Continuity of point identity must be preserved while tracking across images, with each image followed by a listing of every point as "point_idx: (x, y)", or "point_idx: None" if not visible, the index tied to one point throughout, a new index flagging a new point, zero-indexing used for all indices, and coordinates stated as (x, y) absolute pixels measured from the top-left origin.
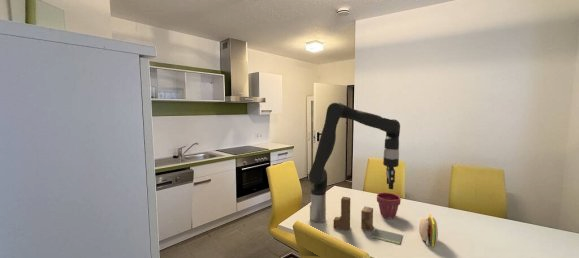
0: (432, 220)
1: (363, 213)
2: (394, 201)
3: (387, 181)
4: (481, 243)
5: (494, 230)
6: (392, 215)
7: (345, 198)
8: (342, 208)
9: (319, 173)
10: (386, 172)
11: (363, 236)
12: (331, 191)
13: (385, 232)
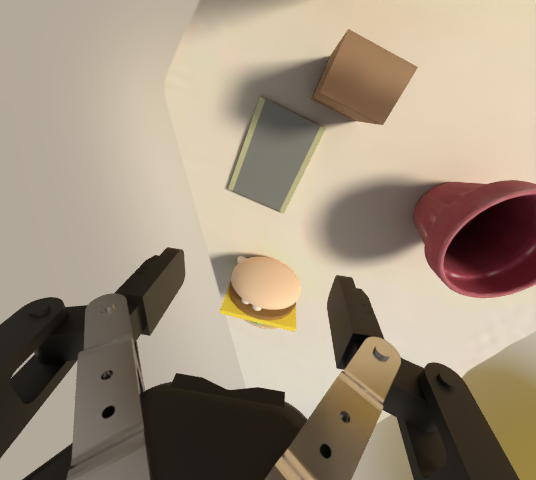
0: (243, 317)
1: (338, 49)
2: (435, 258)
3: (340, 295)
4: (266, 353)
5: (321, 394)
6: (416, 222)
7: None
8: None
9: None
10: (318, 419)
11: (264, 57)
12: None
13: (294, 160)
